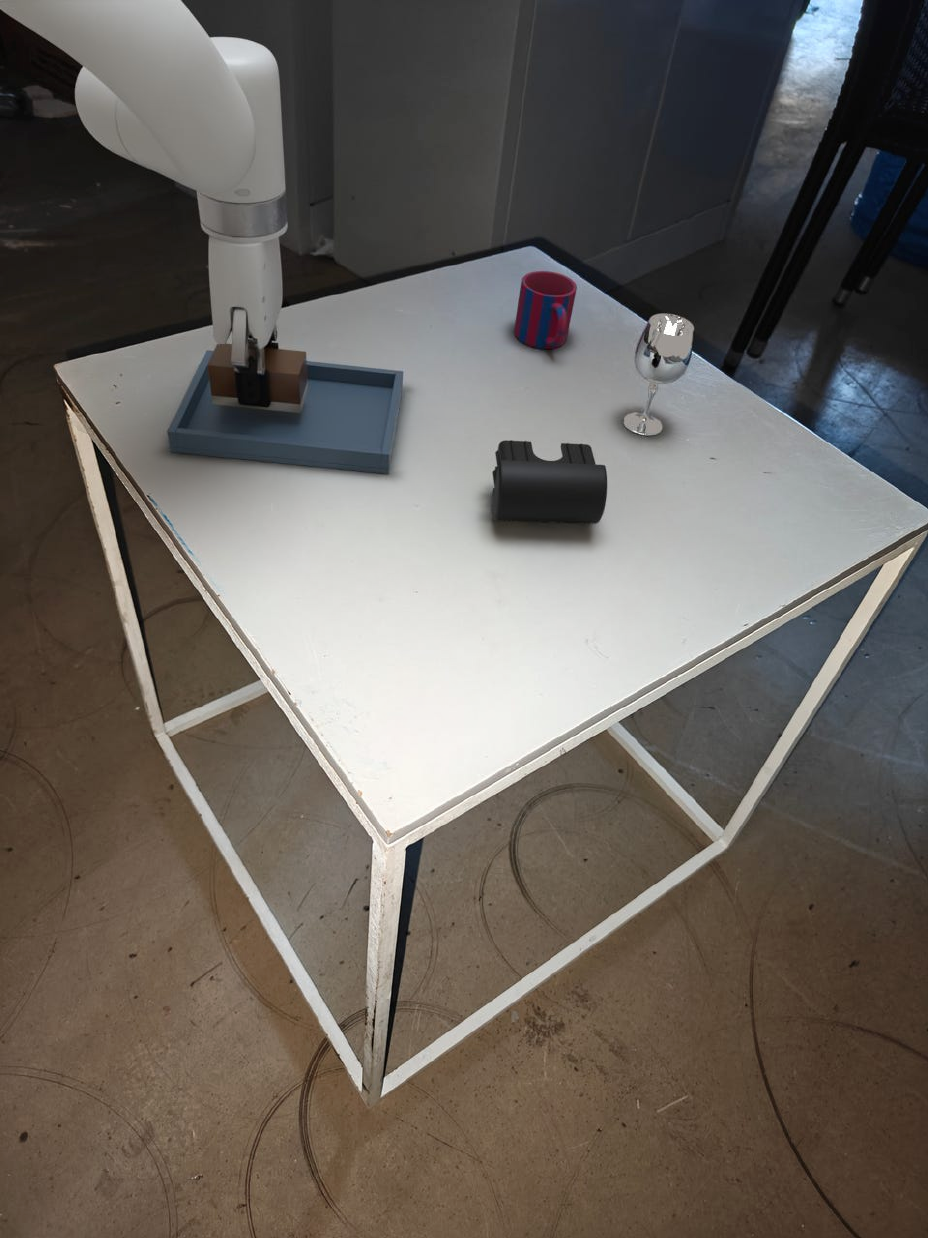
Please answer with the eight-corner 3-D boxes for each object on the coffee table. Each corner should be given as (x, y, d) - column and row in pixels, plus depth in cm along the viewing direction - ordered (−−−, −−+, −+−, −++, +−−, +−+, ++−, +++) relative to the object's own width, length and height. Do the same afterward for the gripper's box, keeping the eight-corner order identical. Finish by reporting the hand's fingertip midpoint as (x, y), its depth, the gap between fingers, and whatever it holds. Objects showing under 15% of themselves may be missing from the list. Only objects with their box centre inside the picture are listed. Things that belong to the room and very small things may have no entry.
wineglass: (629, 441, 94) (658, 340, 85) (609, 411, 98) (634, 312, 89) (676, 436, 95) (709, 337, 87) (655, 407, 99) (684, 309, 90)
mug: (561, 323, 111) (571, 271, 106) (576, 364, 104) (587, 311, 99) (510, 321, 110) (518, 269, 105) (522, 362, 103) (530, 308, 98)
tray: (170, 451, 85) (166, 431, 83) (209, 369, 96) (206, 349, 94) (388, 474, 86) (389, 454, 84) (402, 389, 97) (403, 370, 95)
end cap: (492, 538, 81) (501, 481, 76) (486, 491, 85) (494, 434, 80) (596, 542, 82) (612, 485, 77) (585, 495, 86) (599, 439, 82)
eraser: (212, 404, 87) (206, 364, 84) (222, 381, 90) (217, 342, 87) (301, 413, 88) (298, 374, 84) (308, 389, 91) (306, 351, 88)
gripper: (222, 168, 81) (241, 345, 94) (174, 244, 69) (203, 434, 83) (302, 177, 81) (309, 352, 94) (267, 255, 70) (281, 442, 83)
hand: (259, 388), depth 88 cm, fingers closed on eraser, 4 cm apart
